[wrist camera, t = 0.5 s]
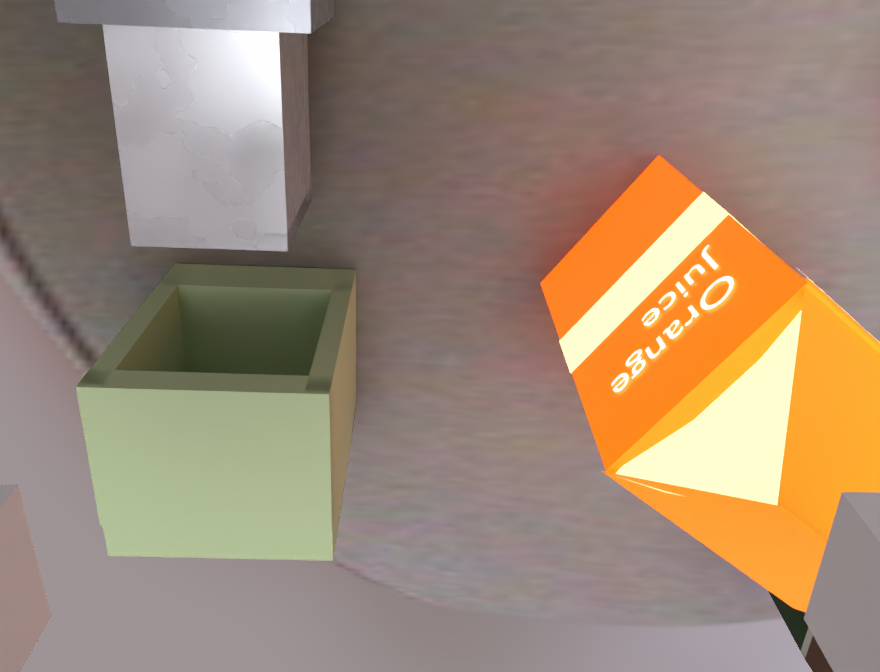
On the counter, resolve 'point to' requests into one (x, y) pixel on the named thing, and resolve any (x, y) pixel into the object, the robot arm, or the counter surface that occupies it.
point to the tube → (210, 116)
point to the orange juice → (718, 379)
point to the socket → (226, 415)
